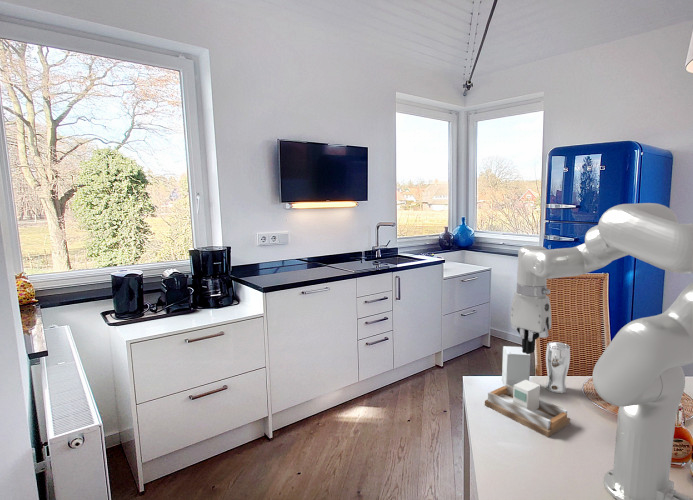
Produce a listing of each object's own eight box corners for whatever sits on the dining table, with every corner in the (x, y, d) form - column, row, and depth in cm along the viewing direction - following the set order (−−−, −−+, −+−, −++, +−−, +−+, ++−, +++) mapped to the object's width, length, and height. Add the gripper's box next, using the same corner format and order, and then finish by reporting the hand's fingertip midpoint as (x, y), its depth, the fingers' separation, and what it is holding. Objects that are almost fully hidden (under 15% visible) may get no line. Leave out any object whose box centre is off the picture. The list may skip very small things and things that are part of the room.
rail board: (569, 423, 112) (570, 410, 112) (548, 437, 106) (548, 423, 106) (506, 394, 129) (507, 383, 128) (484, 405, 123) (485, 393, 122)
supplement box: (529, 392, 130) (531, 355, 128) (505, 390, 132) (506, 353, 130) (524, 381, 137) (525, 346, 135) (501, 380, 139) (502, 345, 137)
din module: (538, 407, 117) (540, 385, 116) (526, 414, 113) (527, 391, 112) (524, 401, 120) (525, 379, 120) (512, 407, 117) (513, 385, 116)
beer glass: (567, 396, 127) (570, 351, 125) (543, 391, 131) (545, 347, 129) (568, 386, 133) (570, 343, 131) (544, 382, 137) (547, 340, 135)
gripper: (565, 293, 108) (561, 357, 111) (515, 283, 120) (512, 341, 123) (549, 297, 104) (545, 364, 107) (499, 287, 116) (497, 347, 119)
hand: (528, 352), depth 115 cm, fingers closed
